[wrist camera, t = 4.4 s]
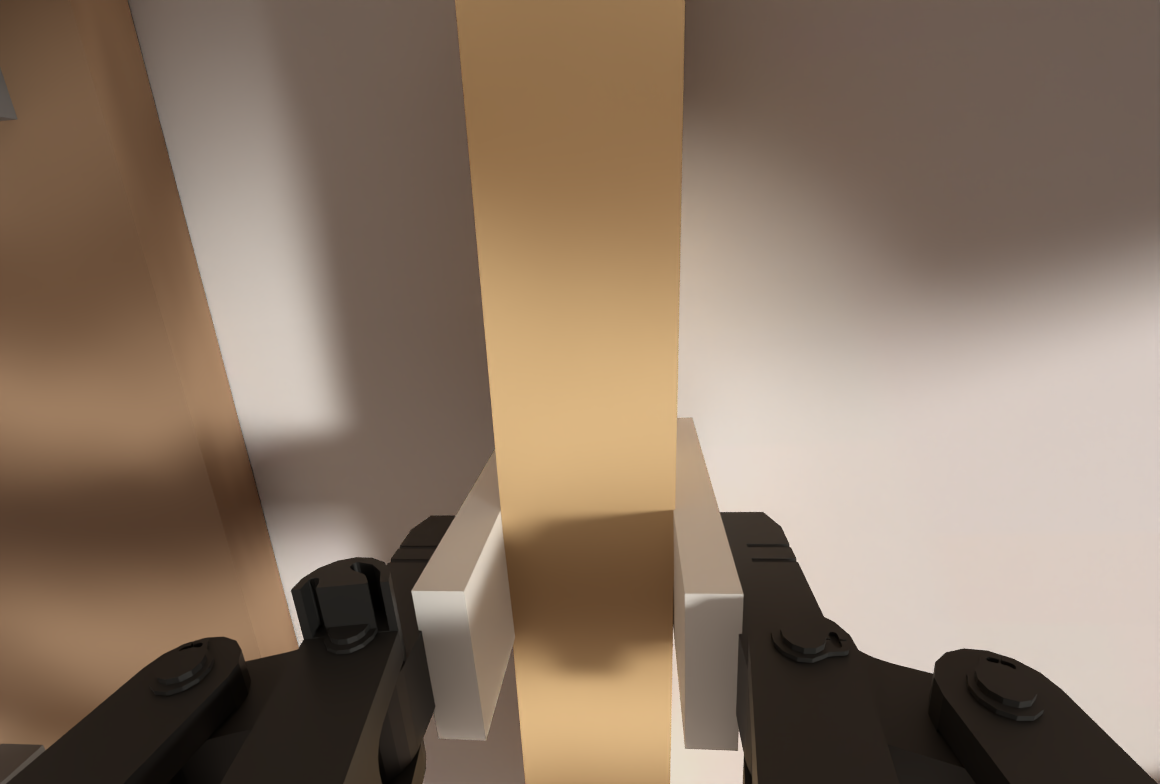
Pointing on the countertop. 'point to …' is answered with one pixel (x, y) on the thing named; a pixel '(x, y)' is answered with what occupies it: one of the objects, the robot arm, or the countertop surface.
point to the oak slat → (582, 361)
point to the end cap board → (107, 393)
